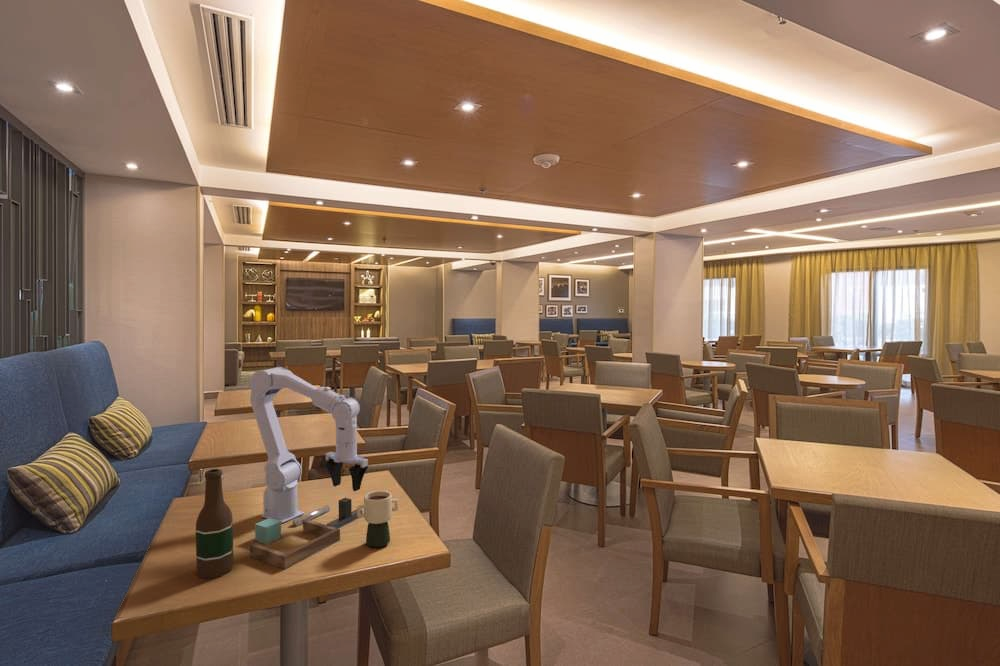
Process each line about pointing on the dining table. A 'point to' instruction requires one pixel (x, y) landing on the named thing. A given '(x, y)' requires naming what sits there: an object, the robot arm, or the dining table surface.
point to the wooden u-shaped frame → (284, 561)
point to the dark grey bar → (344, 514)
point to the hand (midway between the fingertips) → (346, 487)
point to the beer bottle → (214, 531)
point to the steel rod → (311, 515)
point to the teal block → (268, 530)
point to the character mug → (377, 516)
